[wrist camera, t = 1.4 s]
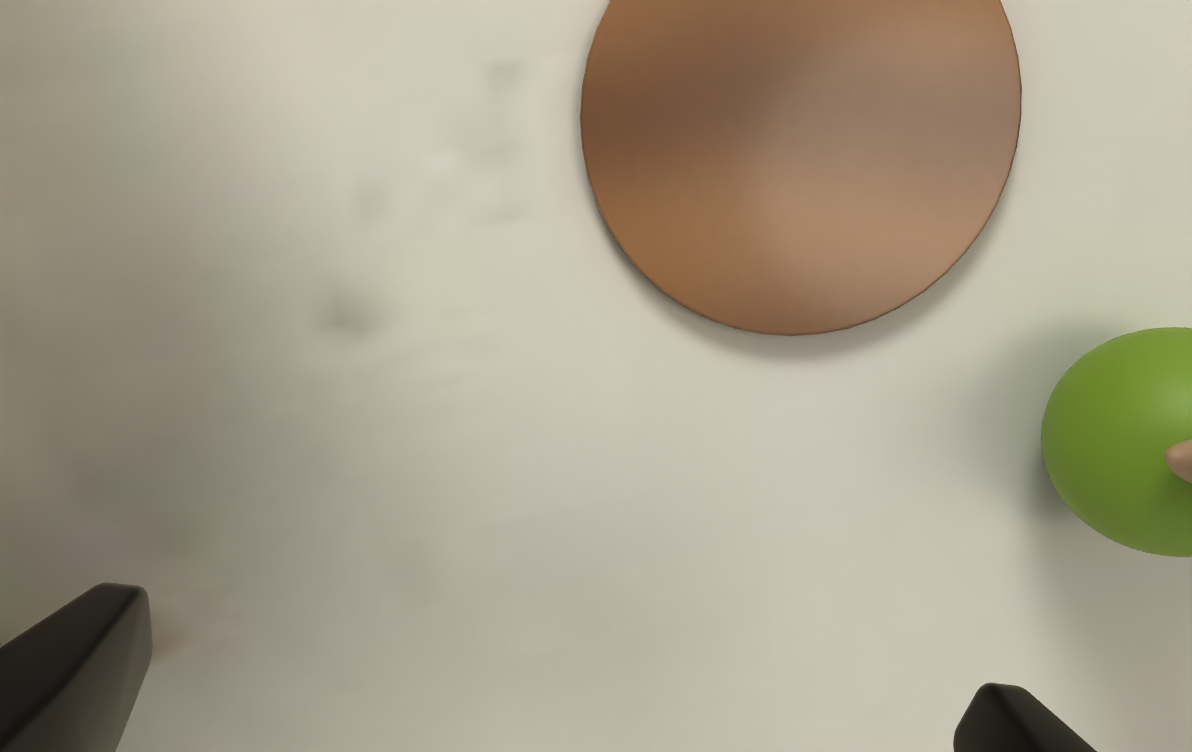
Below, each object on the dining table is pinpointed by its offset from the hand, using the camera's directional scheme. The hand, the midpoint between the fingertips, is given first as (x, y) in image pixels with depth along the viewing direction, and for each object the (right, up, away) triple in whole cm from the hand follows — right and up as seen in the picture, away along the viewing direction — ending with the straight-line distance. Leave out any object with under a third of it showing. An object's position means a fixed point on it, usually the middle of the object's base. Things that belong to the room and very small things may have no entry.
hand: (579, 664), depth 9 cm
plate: (+5, +10, +13) cm, 17 cm away
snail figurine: (+14, +2, +14) cm, 20 cm away
